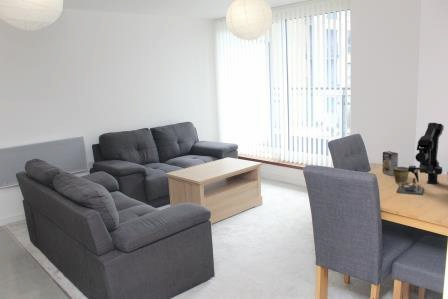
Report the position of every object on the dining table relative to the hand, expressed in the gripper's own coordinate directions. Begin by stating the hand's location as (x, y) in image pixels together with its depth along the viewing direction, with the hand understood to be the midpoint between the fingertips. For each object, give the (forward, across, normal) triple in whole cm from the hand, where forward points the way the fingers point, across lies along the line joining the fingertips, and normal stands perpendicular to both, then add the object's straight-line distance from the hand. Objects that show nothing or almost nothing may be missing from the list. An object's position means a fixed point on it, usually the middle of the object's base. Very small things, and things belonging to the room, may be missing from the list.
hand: (424, 182), depth 244 cm
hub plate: (+4, -8, -5) cm, 10 cm away
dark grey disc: (+2, -8, -4) cm, 9 cm away
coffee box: (+6, -26, +36) cm, 45 cm away
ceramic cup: (+5, -16, +14) cm, 22 cm away
